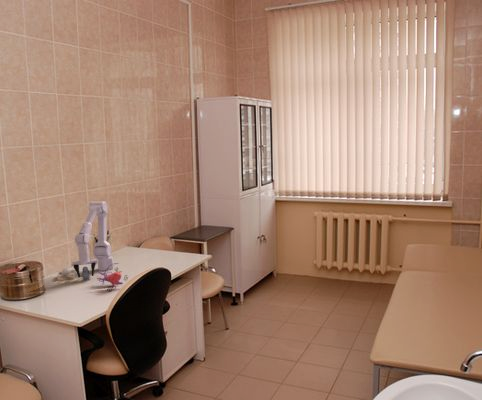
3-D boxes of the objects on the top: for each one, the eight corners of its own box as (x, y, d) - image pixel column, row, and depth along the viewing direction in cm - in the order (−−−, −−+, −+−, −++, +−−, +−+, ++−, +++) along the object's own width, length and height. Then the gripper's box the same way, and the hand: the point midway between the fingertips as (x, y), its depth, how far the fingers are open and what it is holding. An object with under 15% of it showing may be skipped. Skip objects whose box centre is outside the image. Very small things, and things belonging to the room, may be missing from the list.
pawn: (90, 277, 284) (88, 265, 282) (89, 279, 280) (88, 267, 279) (83, 278, 283) (82, 266, 282) (82, 280, 279) (81, 268, 278)
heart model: (117, 294, 259) (89, 286, 265) (125, 292, 268) (98, 284, 273) (123, 266, 260) (96, 259, 265) (131, 266, 268) (104, 258, 274)
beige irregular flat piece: (95, 273, 295) (94, 267, 294) (92, 282, 278) (92, 275, 277) (57, 278, 290) (57, 271, 290) (53, 287, 274) (52, 279, 273)
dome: (72, 274, 290) (71, 266, 289) (71, 277, 285) (70, 268, 284) (62, 275, 289) (61, 267, 288) (61, 278, 284) (60, 269, 283)
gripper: (69, 256, 274) (72, 279, 276) (96, 254, 277) (98, 276, 279) (71, 253, 281) (73, 276, 283) (97, 251, 283) (99, 273, 286)
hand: (86, 276), depth 281 cm, fingers open, 7 cm apart
